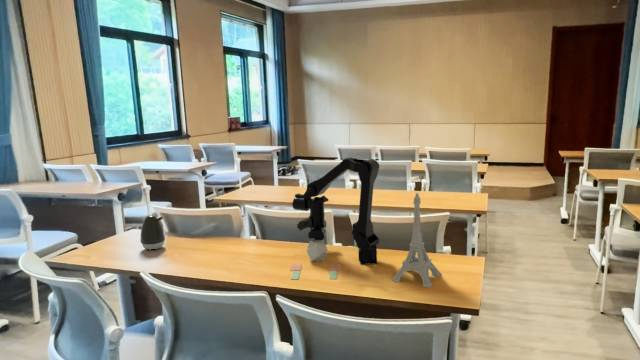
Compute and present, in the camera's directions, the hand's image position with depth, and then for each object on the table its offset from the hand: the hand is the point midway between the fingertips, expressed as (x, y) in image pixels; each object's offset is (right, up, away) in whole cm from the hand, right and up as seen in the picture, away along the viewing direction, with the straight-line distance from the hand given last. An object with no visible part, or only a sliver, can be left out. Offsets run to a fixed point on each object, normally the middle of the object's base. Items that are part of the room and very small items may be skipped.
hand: (318, 248), depth 181 cm
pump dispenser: (-73, -2, +14) cm, 75 cm away
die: (0, -3, -7) cm, 8 cm away
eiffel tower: (+34, -6, -28) cm, 45 cm away
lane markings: (-1, -5, -20) cm, 21 cm away
